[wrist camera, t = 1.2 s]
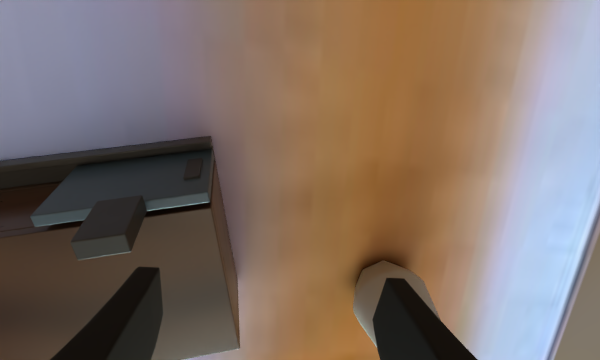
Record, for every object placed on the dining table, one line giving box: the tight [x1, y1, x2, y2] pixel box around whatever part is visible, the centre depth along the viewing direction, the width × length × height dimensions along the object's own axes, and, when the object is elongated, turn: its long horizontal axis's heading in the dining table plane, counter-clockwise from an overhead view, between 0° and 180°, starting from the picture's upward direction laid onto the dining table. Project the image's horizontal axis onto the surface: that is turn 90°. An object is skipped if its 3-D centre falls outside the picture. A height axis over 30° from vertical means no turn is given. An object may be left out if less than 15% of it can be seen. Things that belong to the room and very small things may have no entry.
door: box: [30, 149, 214, 260], centre depth 18 cm, size 1×8×9 cm, turn 93°
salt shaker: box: [353, 260, 440, 347], centre depth 24 cm, size 6×6×13 cm
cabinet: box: [0, 136, 240, 360], centre depth 21 cm, size 12×15×6 cm
